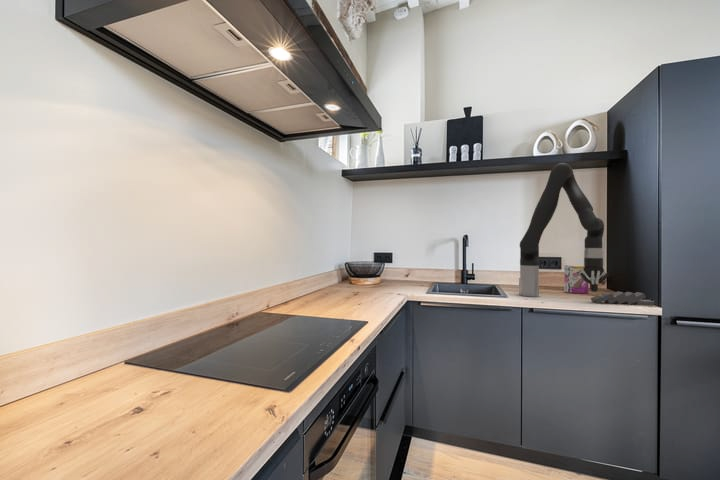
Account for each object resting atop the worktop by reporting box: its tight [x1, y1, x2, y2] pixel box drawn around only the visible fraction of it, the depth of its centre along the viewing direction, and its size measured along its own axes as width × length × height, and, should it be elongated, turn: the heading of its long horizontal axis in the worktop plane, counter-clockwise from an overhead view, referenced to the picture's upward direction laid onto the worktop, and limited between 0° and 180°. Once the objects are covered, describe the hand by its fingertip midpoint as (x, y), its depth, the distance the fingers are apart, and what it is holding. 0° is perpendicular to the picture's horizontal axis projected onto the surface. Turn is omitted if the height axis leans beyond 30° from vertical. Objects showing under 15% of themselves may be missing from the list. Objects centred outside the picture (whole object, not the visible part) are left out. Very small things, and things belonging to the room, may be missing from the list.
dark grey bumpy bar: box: [613, 291, 636, 305], centre depth 143 cm, size 2×4×8 cm
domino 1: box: [590, 291, 614, 304], centre depth 145 cm, size 2×4×8 cm
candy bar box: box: [563, 264, 589, 295], centre depth 174 cm, size 11×5×16 cm, turn 84°
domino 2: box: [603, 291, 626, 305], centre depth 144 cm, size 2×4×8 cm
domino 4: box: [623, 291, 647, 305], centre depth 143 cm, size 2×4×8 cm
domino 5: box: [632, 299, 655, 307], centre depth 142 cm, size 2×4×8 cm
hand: (593, 291), depth 146 cm, fingers closed
